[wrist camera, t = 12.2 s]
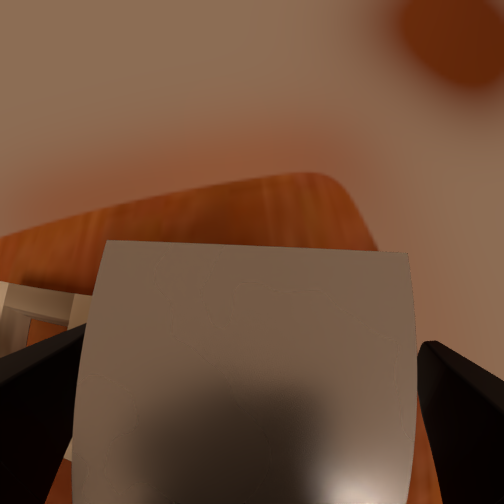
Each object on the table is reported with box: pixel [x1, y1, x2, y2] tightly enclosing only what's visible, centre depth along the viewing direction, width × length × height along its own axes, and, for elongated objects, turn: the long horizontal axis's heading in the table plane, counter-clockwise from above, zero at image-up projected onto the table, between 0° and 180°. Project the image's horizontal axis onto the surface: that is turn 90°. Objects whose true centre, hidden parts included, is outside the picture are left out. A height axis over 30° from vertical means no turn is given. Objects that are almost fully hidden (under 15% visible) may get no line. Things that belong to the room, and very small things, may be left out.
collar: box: [0, 281, 92, 461], centre depth 14 cm, size 9×9×3 cm
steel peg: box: [72, 240, 417, 504], centre depth 9 cm, size 4×4×12 cm
